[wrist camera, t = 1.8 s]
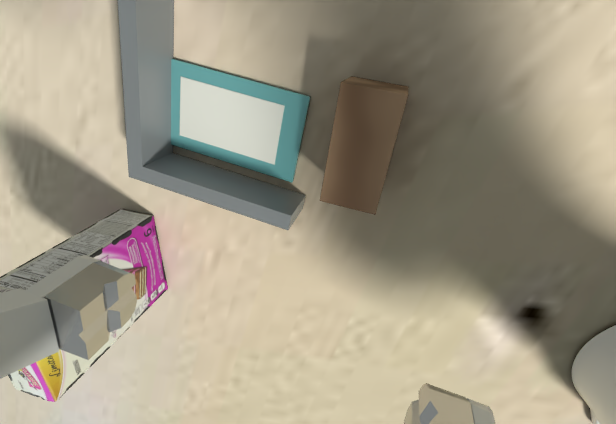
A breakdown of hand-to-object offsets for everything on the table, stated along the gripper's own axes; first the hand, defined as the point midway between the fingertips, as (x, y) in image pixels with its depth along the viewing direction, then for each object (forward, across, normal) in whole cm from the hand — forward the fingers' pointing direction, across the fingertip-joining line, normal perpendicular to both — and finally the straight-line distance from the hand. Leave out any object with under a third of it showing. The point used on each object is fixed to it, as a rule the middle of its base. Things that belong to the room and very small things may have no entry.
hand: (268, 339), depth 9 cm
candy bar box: (+23, +22, +21) cm, 38 cm away
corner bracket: (+23, +12, +1) cm, 25 cm away
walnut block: (+23, 0, 0) cm, 23 cm away
